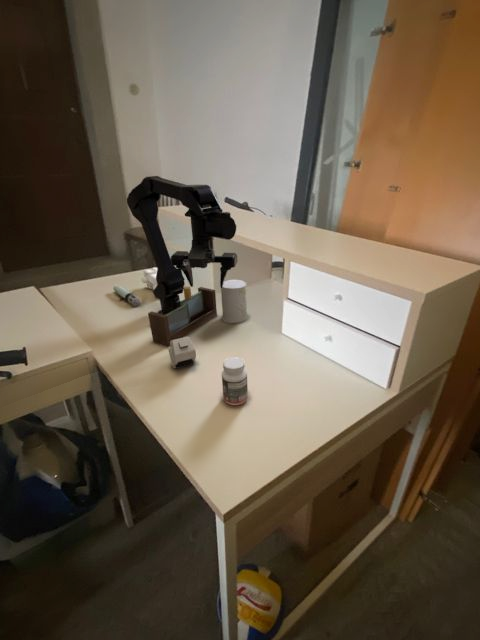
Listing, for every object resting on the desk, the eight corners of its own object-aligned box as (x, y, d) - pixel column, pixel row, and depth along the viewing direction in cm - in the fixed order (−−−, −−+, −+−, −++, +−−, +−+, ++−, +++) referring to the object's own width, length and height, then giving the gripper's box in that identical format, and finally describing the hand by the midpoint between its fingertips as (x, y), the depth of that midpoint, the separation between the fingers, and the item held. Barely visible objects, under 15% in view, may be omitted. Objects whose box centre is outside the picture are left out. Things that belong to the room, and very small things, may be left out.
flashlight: (107, 289, 137) (128, 304, 124) (116, 282, 138) (137, 296, 125) (113, 295, 139) (134, 311, 126) (121, 288, 140) (143, 302, 127)
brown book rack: (153, 342, 105) (147, 313, 100) (203, 312, 123) (200, 286, 118) (168, 347, 102) (163, 317, 97) (217, 316, 120) (215, 289, 115)
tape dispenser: (173, 372, 94) (175, 359, 86) (166, 349, 96) (168, 335, 87) (194, 366, 97) (199, 353, 88) (187, 344, 98) (191, 330, 90)
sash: (181, 321, 113) (177, 290, 107) (200, 310, 120) (197, 280, 115) (186, 322, 112) (182, 291, 106) (205, 311, 119) (202, 281, 114)
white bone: (178, 295, 136) (175, 274, 132) (156, 300, 132) (153, 279, 128) (162, 284, 147) (159, 265, 142) (142, 288, 142) (138, 269, 138)
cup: (243, 324, 115) (242, 289, 109) (219, 321, 116) (217, 287, 110) (249, 313, 122) (248, 280, 116) (226, 311, 123) (225, 278, 117)
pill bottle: (223, 391, 84) (221, 356, 79) (247, 390, 85) (246, 354, 79) (223, 406, 79) (220, 370, 74) (248, 405, 80) (247, 369, 75)
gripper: (160, 240, 93) (168, 295, 101) (229, 242, 91) (232, 298, 99) (173, 231, 102) (180, 282, 110) (237, 232, 101) (238, 284, 109)
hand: (206, 287), depth 107 cm, fingers open, 9 cm apart
